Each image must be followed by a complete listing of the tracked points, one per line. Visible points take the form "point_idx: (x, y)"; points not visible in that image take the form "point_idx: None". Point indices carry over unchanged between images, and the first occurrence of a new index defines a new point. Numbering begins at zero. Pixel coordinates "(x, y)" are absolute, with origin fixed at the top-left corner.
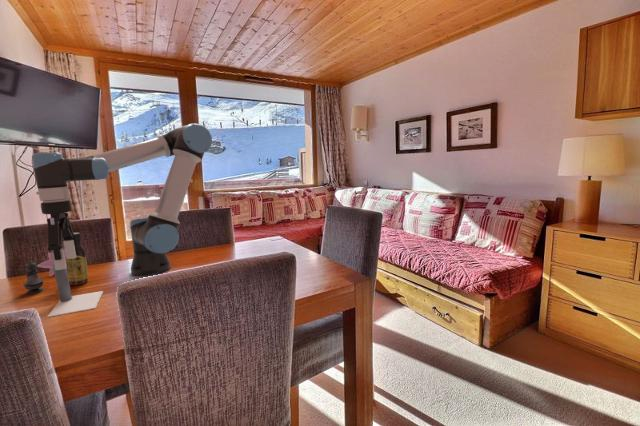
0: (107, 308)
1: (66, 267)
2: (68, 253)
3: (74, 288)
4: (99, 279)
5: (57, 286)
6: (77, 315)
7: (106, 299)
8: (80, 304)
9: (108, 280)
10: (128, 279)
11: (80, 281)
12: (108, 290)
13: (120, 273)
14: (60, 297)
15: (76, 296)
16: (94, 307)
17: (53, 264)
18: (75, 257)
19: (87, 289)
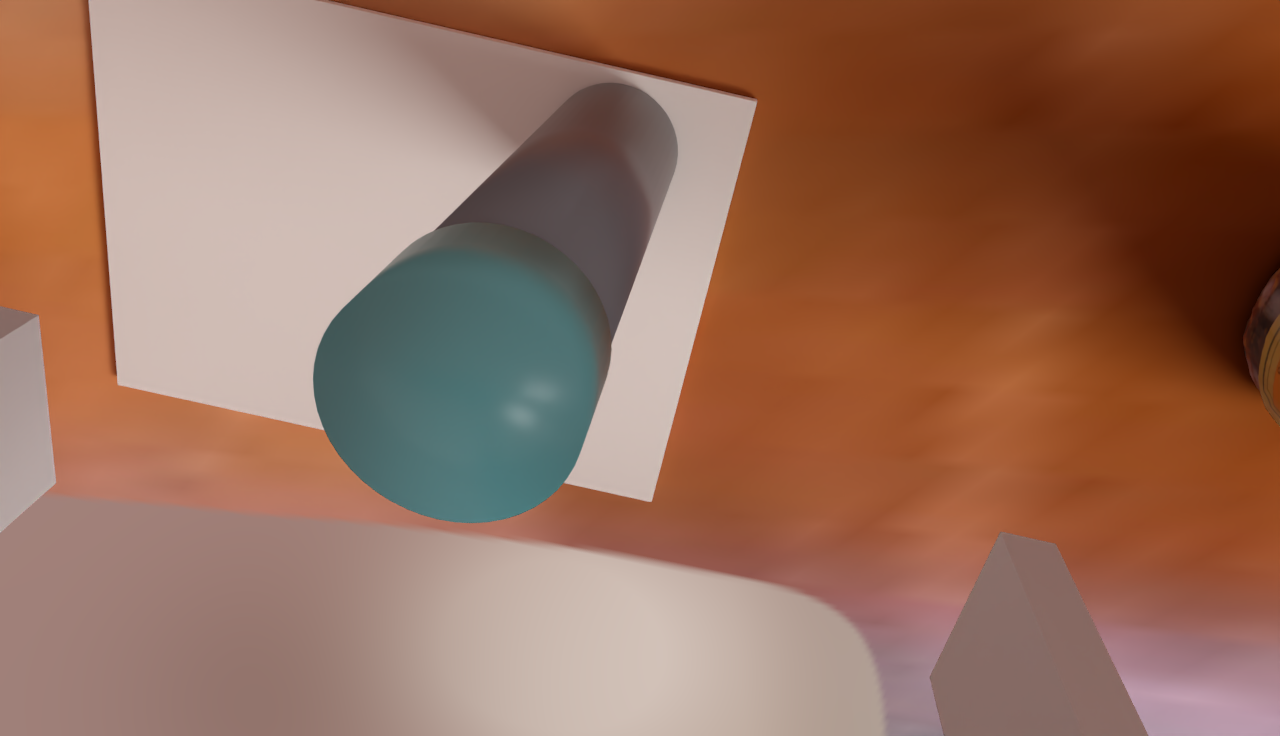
0: (73, 458)
1: (43, 490)
2: (1012, 692)
3: (1123, 250)
4: (1251, 523)
5: (536, 138)
6: (8, 228)
7: (351, 484)
8: (310, 276)
9: (1083, 587)
10: (906, 724)
11: (1254, 353)
12: (656, 536)
13: (1269, 716)
14: (559, 107)
15: (663, 257)
16: (126, 378)
17: (404, 302)
18: (936, 684)
19: (907, 375)
